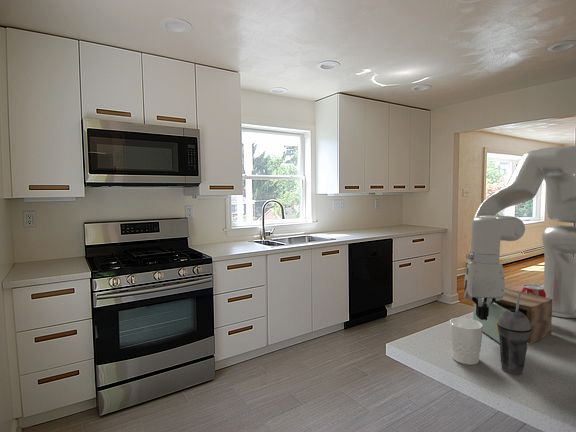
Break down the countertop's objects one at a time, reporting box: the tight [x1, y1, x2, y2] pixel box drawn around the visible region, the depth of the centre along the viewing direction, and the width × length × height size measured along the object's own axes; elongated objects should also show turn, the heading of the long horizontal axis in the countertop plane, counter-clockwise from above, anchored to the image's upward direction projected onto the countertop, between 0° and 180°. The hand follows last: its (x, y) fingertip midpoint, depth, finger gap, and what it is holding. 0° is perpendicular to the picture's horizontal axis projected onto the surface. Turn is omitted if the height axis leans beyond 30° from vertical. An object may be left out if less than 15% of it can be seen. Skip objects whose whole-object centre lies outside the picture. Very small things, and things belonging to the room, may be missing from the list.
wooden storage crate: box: [494, 288, 553, 345], centre depth 113 cm, size 13×16×11 cm
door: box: [472, 298, 507, 344], centre depth 108 cm, size 2×16×10 cm, turn 2°
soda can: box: [520, 284, 546, 298], centre depth 119 cm, size 7×7×12 cm
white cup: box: [449, 317, 483, 366], centre depth 95 cm, size 8×8×10 cm
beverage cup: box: [497, 293, 531, 377], centre depth 88 cm, size 7×7×20 cm
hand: (481, 318), depth 106 cm, fingers closed
